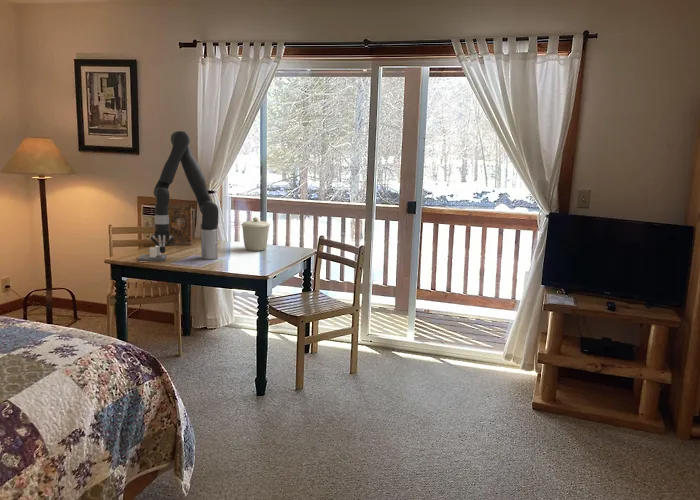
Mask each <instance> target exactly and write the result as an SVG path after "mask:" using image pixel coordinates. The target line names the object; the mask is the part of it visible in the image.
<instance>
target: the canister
mask: <svg viewBox="0 0 700 500" xmlns="http://www.w3.org/2000/svg"><path fill="white" fill-rule="evenodd" d="M240 225H241V228H242V237H243V238H242V239H243V244H244V248H245V249H246V250H247V251H251V252H262V251H264V250H266V248H267V245H268V238H269V231H270V230H269V229H270V226H271V224H270V223H268V221H263V220H259V217H256V216H254V217H253V218H252V220H247V221H243V222H242V223H241V224H240Z"/></svg>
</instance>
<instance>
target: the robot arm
mask: <svg viewBox="0 0 700 500" xmlns="http://www.w3.org/2000/svg"><path fill="white" fill-rule="evenodd" d="M170 143H171V145H172V147H171V151H170V154H169V156H168V158H167V160H166V161H165V163H164V165H163V168H162V170H161V173H160V176H159V179H158V181H157V182H156V184H155V187H154V189H153V195H154V197H155V198H156V204H155V205H154V234H153V235H152V236H150V240H151V241H152V242H153V243H154V244H155V246H159V247H160V252H161V253H162V254H164V253H166V247H168V245H169V244H170V242H171V241H172V240H173V239H174V237H173V236H171V235H170V233H169V215H168V206H170V205H169V204H170V192H169V190H168V189H169V187H170V185H171V184H172V183H173V182H174V180H175V176H176V174H177V171H178V168H179V166H180V163H181V166H182V169H183V171H184V175H185V177H186V179H187V181H188V184H189V187H190V188H191V190H192V192H193V194H194V195H195V198H196V201H197V204H198V208H199V211H200V213H201V215H202V216H201V218H202V219H201V221H202V222H201V225H200V235H201V237H200V240H201V241H200V244H201V245H200V249H201V250H200V251H201V253H200V255H201V259H203V260H216V259H217V260H218V252H219V251H218V226H219V216H220V215H219V207H218V205H217V204H216V203H215V202H213V201H212V199H211V196H210V194H209V192H208V189H207V183H206V178H205V175H204V172H203V171H202V168H201V166H200V165H199V163H198V161H197V160H196V158H195V157H194V155H193V154H192V151H191V148H190V146H189V145H190V143H191V137H190V135H189V134H188V133H187V132H186V131H183V130H178V131H177V130H176V131H174V132H173V133H171V136H170ZM168 237H170V238H169V239H170V240H169V241H168V242H167V243H166V240H167V239H168ZM156 239H157V240H156Z"/></svg>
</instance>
